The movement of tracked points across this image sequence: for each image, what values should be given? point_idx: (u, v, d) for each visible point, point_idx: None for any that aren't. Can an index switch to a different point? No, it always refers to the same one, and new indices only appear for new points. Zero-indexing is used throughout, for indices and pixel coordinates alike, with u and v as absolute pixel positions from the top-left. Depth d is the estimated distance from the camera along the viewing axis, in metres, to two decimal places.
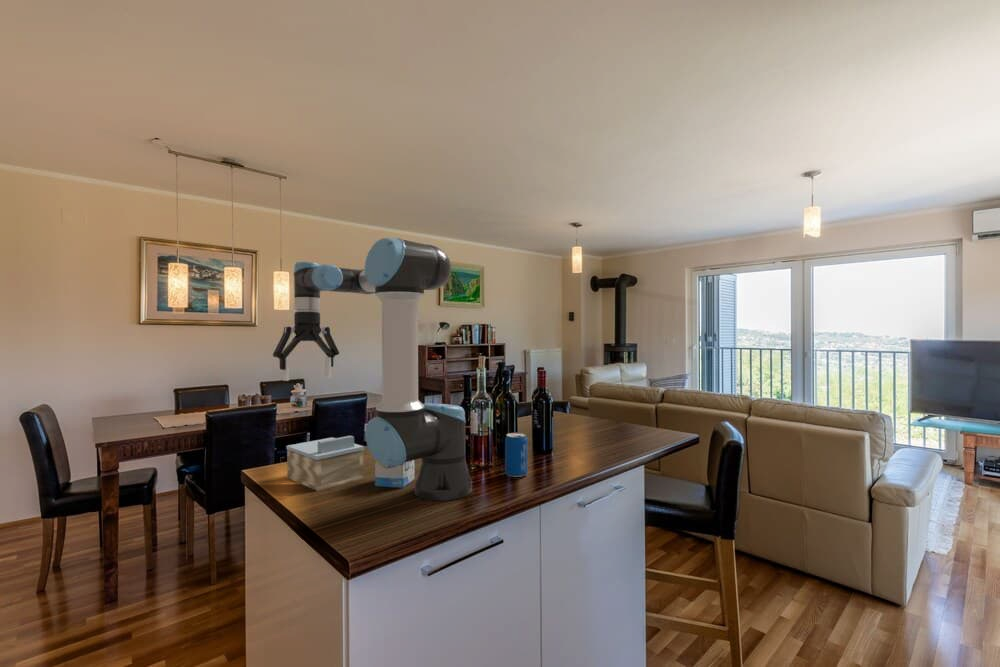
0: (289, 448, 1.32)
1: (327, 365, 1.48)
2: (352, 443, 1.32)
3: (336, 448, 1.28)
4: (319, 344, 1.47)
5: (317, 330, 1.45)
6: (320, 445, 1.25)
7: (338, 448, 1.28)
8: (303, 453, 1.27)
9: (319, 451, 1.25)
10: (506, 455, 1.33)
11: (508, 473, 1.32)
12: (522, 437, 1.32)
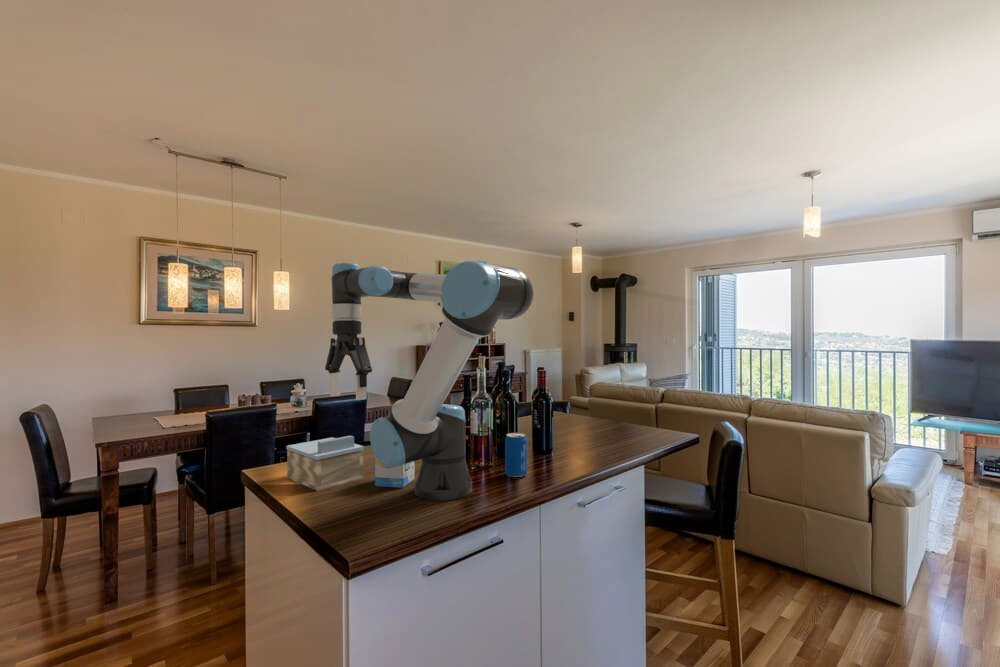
0: (289, 448, 1.32)
1: None
2: (352, 443, 1.32)
3: (336, 448, 1.28)
4: None
5: (348, 341, 1.22)
6: (320, 445, 1.25)
7: (338, 448, 1.28)
8: (303, 453, 1.27)
9: (319, 451, 1.25)
10: (506, 455, 1.33)
11: (508, 473, 1.32)
12: (522, 437, 1.32)
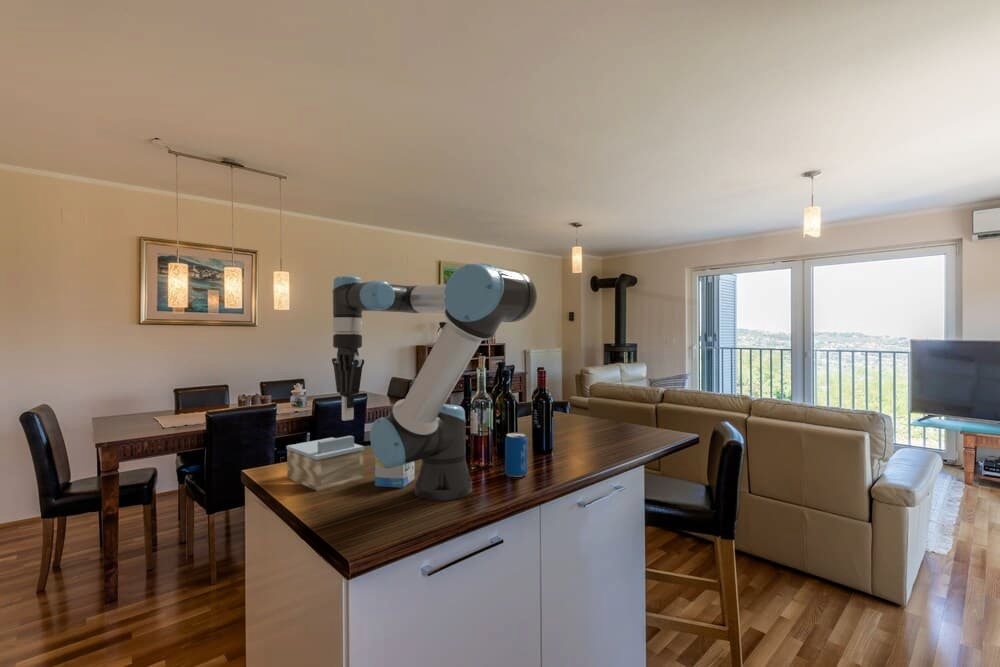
0: (289, 448, 1.32)
1: None
2: (352, 443, 1.32)
3: (336, 448, 1.28)
4: None
5: (349, 354, 1.22)
6: (320, 445, 1.25)
7: (338, 448, 1.28)
8: (303, 453, 1.27)
9: (319, 451, 1.25)
10: (506, 455, 1.33)
11: (508, 473, 1.32)
12: (522, 437, 1.32)
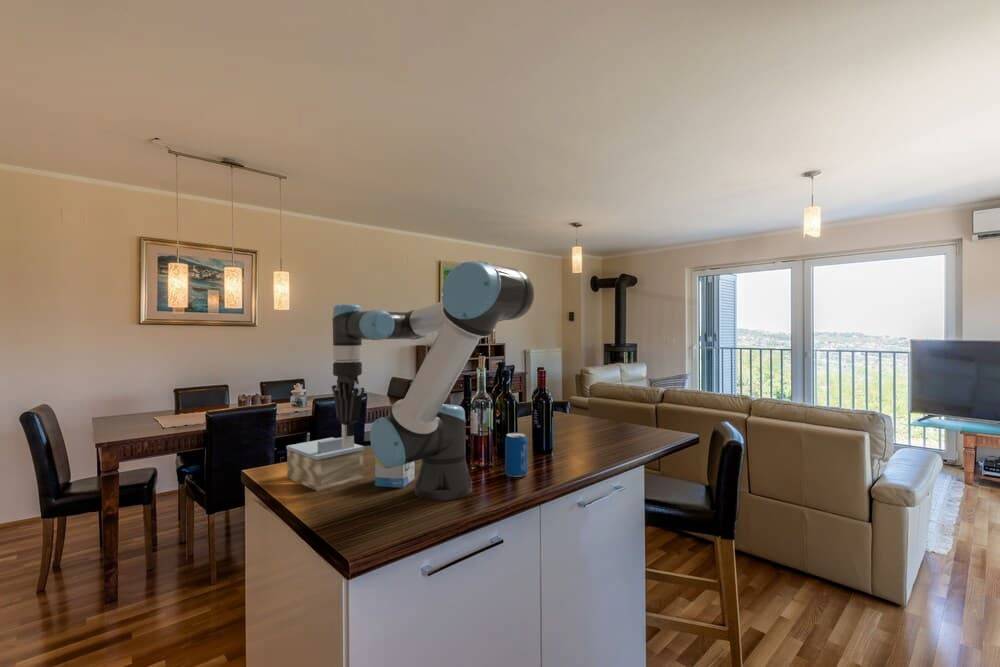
0: (289, 448, 1.32)
1: None
2: None
3: (336, 448, 1.28)
4: None
5: (349, 383, 1.22)
6: (320, 445, 1.25)
7: (338, 448, 1.28)
8: (303, 453, 1.27)
9: (319, 451, 1.25)
10: (506, 455, 1.33)
11: (508, 473, 1.32)
12: (522, 437, 1.32)
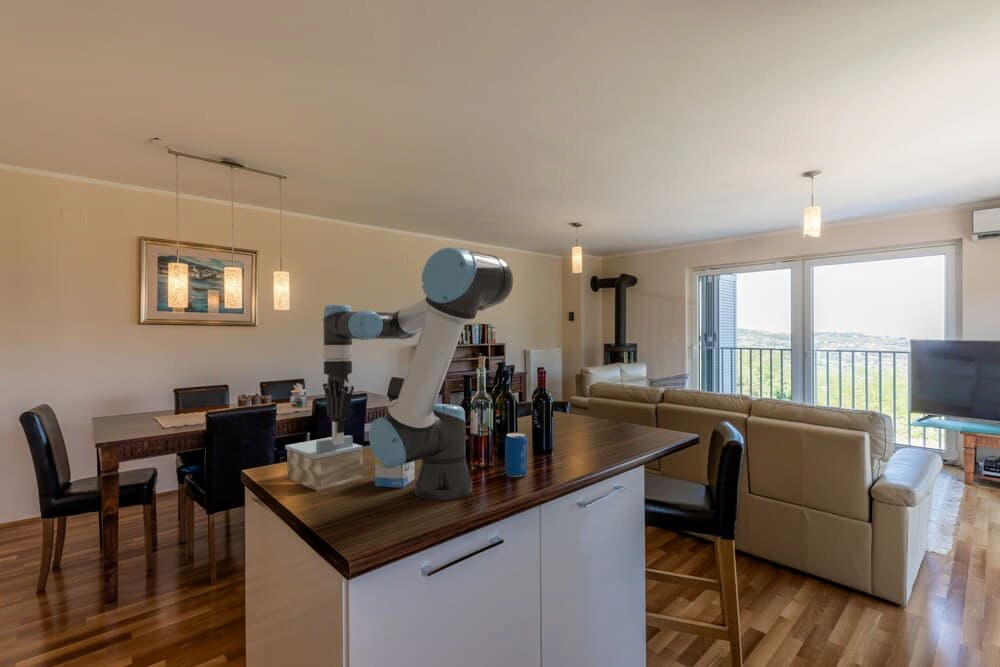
0: (288, 448, 1.33)
1: None
2: (351, 442, 1.32)
3: (335, 448, 1.28)
4: None
5: (339, 381, 1.26)
6: (319, 445, 1.25)
7: (337, 448, 1.29)
8: (302, 453, 1.27)
9: (318, 451, 1.26)
10: (506, 455, 1.33)
11: (508, 473, 1.32)
12: (522, 437, 1.32)
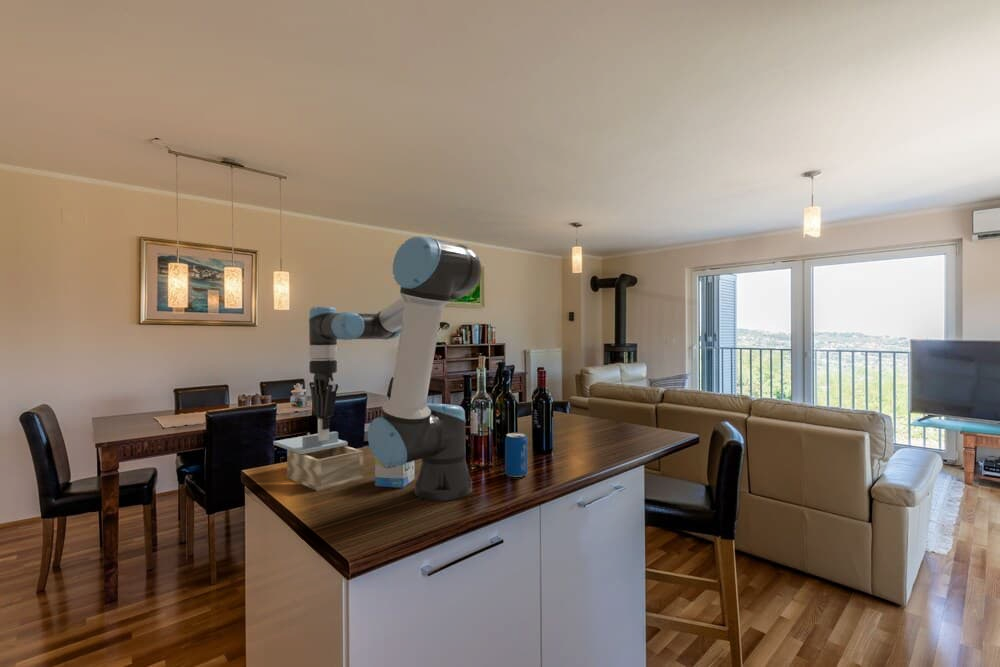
0: (276, 443, 1.38)
1: None
2: (336, 438, 1.38)
3: (320, 443, 1.34)
4: None
5: (324, 379, 1.31)
6: (305, 440, 1.31)
7: (322, 443, 1.34)
8: (289, 448, 1.33)
9: (304, 446, 1.31)
10: (506, 455, 1.33)
11: (508, 473, 1.32)
12: (522, 437, 1.32)
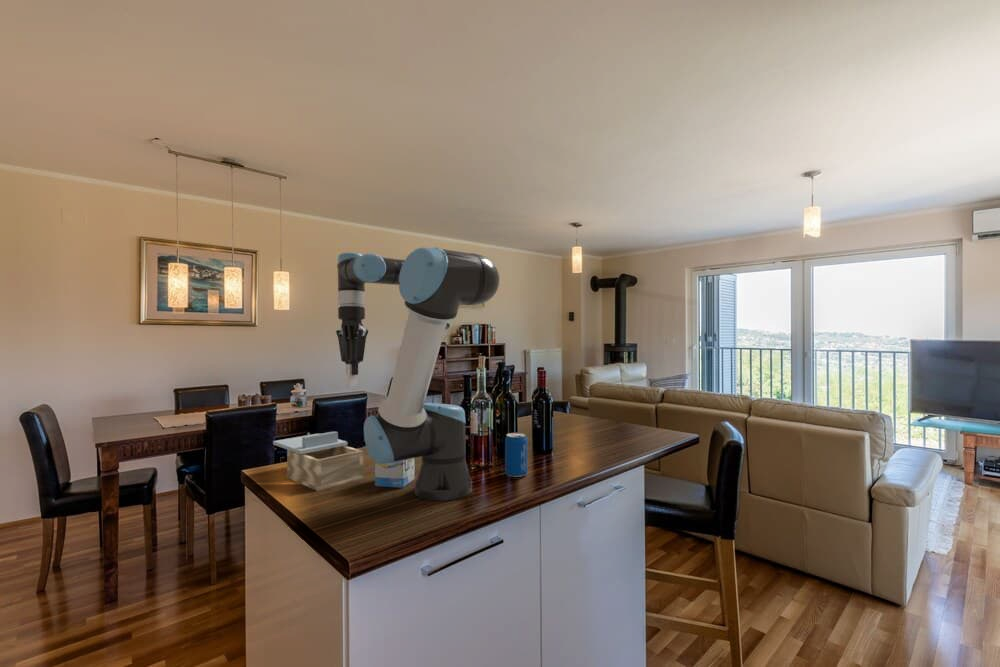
0: (276, 443, 1.39)
1: None
2: (336, 438, 1.38)
3: (320, 443, 1.34)
4: None
5: (353, 325, 1.32)
6: (304, 440, 1.31)
7: (322, 443, 1.34)
8: (288, 448, 1.33)
9: (303, 446, 1.31)
10: (506, 455, 1.33)
11: (508, 473, 1.32)
12: (522, 437, 1.32)
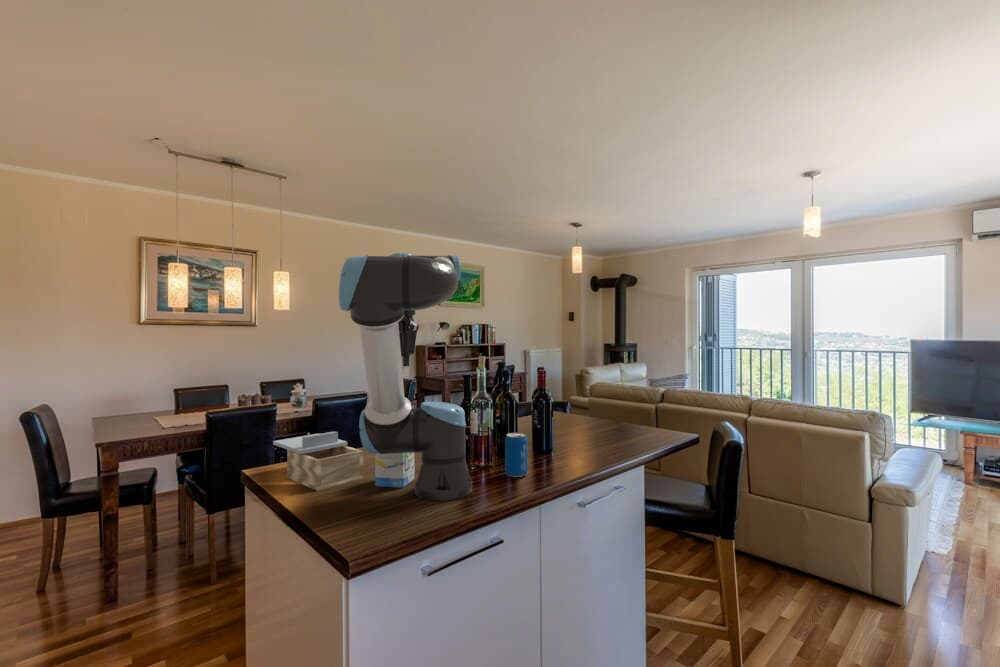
0: (276, 443, 1.39)
1: None
2: (336, 438, 1.38)
3: (320, 443, 1.34)
4: None
5: (405, 320, 1.43)
6: (304, 440, 1.31)
7: (322, 443, 1.34)
8: (288, 448, 1.33)
9: (303, 446, 1.31)
10: (506, 455, 1.33)
11: (508, 473, 1.32)
12: (522, 437, 1.32)
